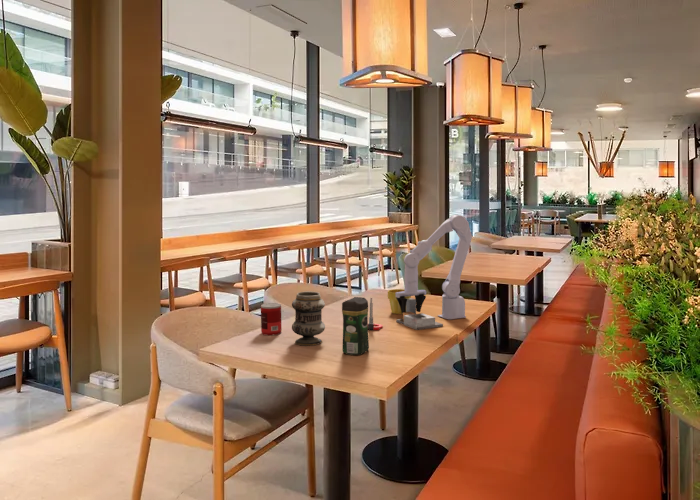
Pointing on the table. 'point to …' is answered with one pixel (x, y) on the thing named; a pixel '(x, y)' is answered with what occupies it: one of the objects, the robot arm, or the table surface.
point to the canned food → (271, 319)
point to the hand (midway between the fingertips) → (410, 312)
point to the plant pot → (395, 300)
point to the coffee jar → (355, 326)
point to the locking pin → (411, 305)
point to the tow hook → (370, 324)
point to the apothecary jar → (308, 317)
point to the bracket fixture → (418, 321)
